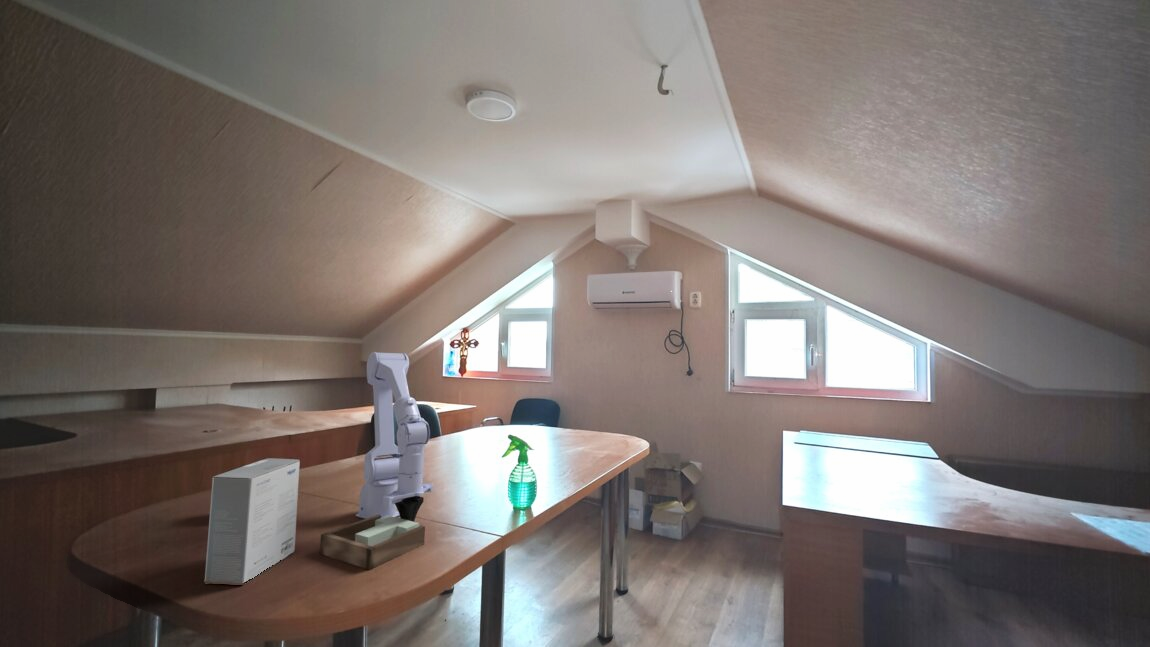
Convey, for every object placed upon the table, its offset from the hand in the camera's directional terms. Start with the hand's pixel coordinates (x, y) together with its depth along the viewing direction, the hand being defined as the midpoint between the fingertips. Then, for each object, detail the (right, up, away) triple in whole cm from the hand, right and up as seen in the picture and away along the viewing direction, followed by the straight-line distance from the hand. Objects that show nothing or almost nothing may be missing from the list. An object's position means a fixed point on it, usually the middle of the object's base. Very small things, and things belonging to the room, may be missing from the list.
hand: (407, 528), depth 113 cm
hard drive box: (-24, +1, -20) cm, 31 cm away
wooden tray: (-4, -1, -8) cm, 9 cm away
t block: (-3, -1, -7) cm, 7 cm away
